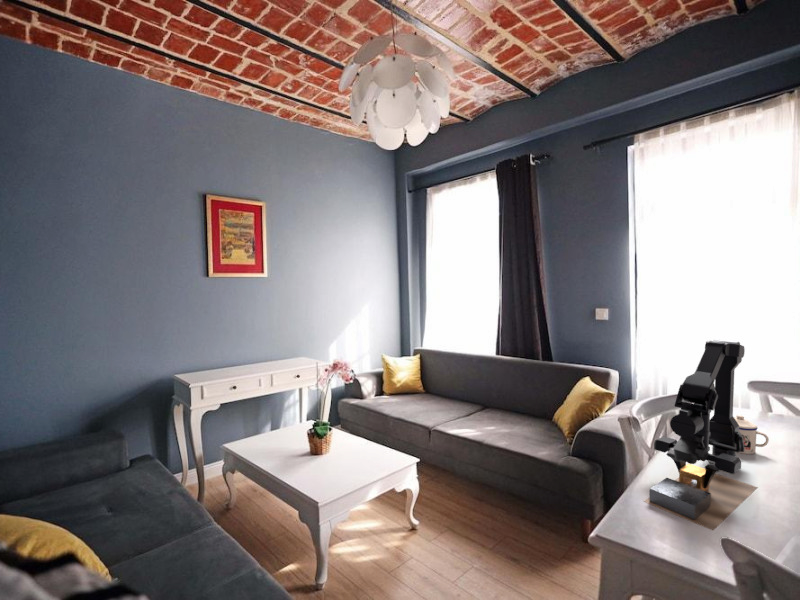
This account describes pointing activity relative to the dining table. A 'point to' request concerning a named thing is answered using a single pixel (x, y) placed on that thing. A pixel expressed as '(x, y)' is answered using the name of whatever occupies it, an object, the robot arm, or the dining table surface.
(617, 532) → the dining table surface
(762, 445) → the teacup with lid
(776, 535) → the dining table surface
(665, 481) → the grey flat rectangular block
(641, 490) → the dining table surface
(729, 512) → the walnut board
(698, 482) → the block
